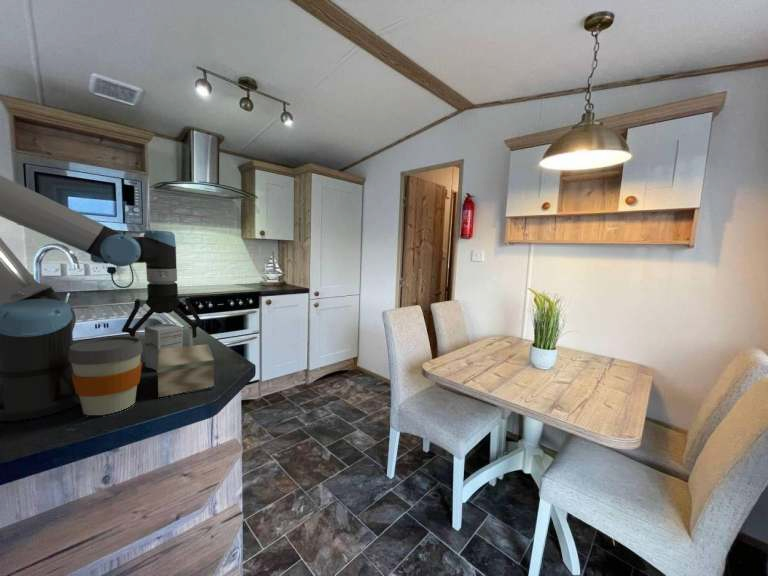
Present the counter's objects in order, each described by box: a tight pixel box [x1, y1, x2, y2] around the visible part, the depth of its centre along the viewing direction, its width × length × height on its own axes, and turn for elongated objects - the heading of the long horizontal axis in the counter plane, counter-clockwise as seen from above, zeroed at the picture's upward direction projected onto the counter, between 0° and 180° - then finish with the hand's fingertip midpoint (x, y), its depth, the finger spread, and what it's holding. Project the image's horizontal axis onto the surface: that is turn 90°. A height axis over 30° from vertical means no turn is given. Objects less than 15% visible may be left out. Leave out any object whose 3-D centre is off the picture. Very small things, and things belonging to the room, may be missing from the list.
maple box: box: [156, 343, 215, 398], centre depth 87 cm, size 12×16×8 cm
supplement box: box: [144, 322, 184, 371], centre depth 98 cm, size 7×7×13 cm
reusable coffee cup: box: [69, 335, 144, 415], centre depth 72 cm, size 12×13×15 cm
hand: (165, 350), depth 99 cm, fingers open, 13 cm apart
